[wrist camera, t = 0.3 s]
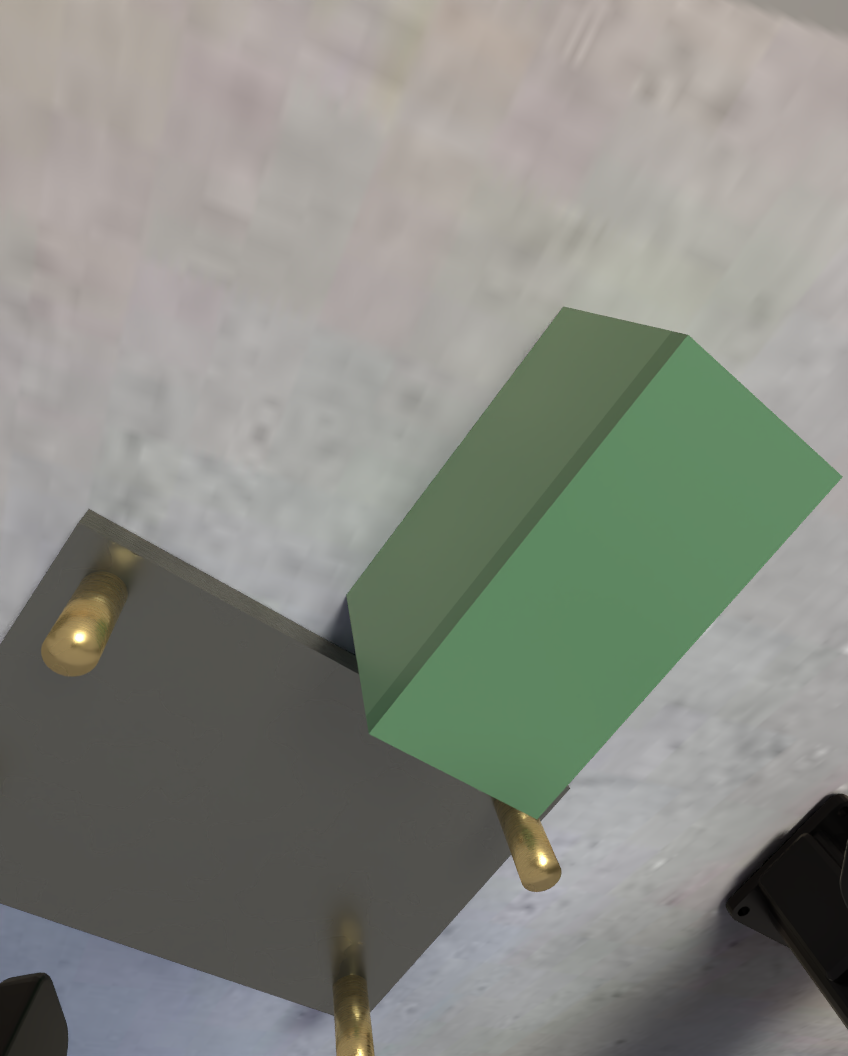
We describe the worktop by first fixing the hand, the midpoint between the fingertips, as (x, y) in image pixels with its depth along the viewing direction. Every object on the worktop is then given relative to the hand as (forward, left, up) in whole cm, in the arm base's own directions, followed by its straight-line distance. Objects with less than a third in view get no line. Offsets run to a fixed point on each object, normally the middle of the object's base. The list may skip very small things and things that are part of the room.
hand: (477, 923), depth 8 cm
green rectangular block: (-3, -3, -13) cm, 14 cm away
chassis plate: (-2, +10, -13) cm, 17 cm away
